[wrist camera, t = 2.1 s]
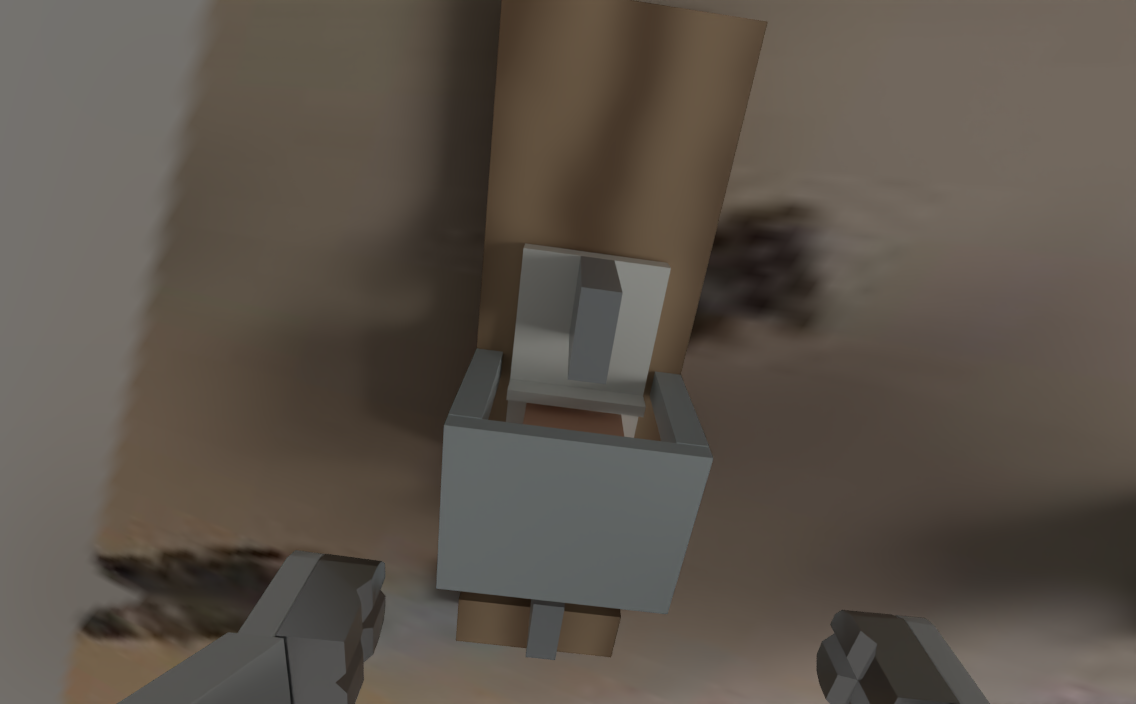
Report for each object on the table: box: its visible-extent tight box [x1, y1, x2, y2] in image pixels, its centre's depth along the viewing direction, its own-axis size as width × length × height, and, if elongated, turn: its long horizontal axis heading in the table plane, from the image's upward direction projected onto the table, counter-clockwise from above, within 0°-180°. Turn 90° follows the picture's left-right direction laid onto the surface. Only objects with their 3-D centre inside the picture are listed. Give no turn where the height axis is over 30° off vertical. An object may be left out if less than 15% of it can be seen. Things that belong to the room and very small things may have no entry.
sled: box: [506, 243, 671, 660], centre depth 27 cm, size 7×21×6 cm, turn 172°
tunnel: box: [436, 348, 713, 614], centre depth 27 cm, size 11×9×8 cm
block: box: [523, 403, 624, 437], centre depth 27 cm, size 5×5×5 cm
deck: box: [456, 0, 767, 657], centre depth 31 cm, size 11×39×3 cm, turn 172°
